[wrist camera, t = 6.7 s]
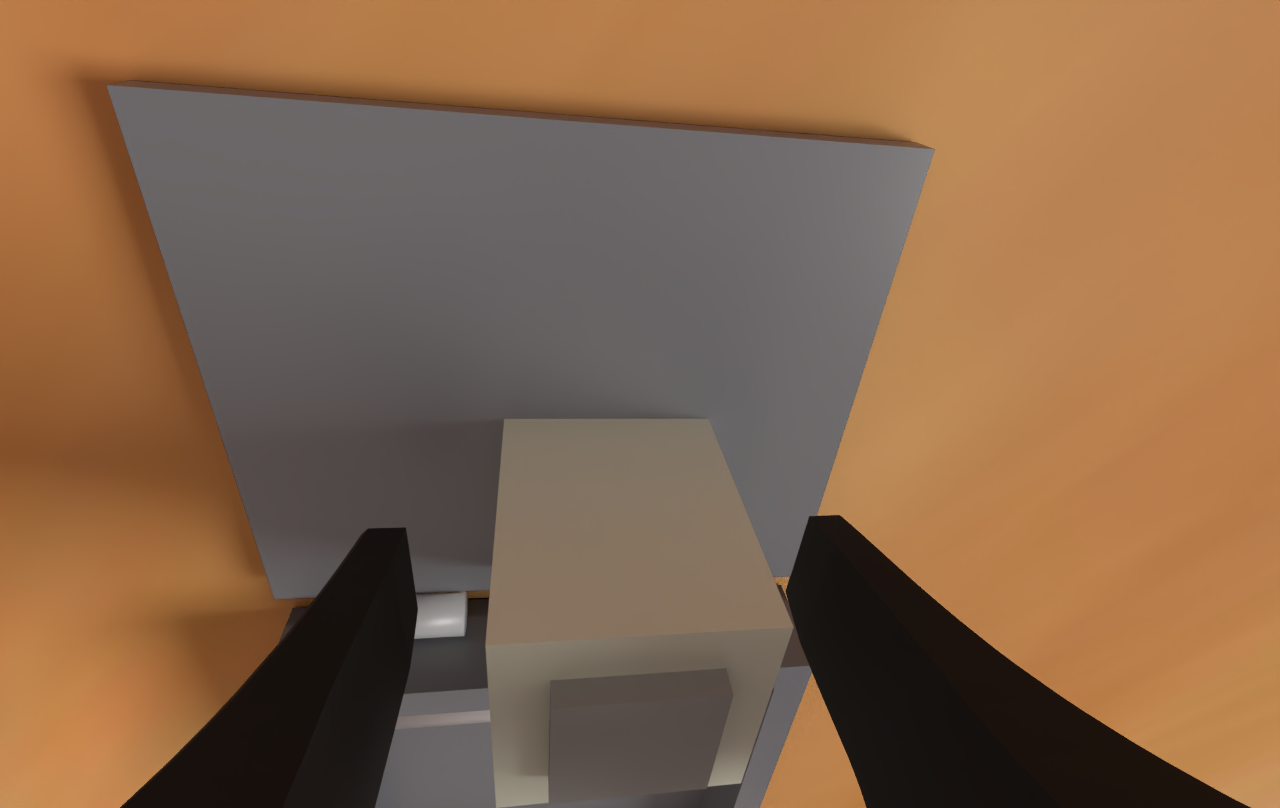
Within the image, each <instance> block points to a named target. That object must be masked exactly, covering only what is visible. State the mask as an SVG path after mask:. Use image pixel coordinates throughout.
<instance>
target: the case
mask: <svg viewBox="0 0 1280 808" xmlns="http://www.w3.org/2000/svg"><path fill="white" fill-rule="evenodd" d="M777 588H778V590H779V593H780V595H781V597H782V600H783V602H784V605H785V607H786V610H787V612H788V615H789V617H790V619H791V622H792V624H793V627H794V628H793V631H792V634H791V637H790V640H789V643H788V645H787V648H786V651H785V654H784V657H783V660H782V663H781V666H780V669H779V672H778V675H777V678H776V681H775V684H774V687H773V690H772V693H771V696H770V699H769V702H768V705H767V708H766V711H765V713H764V716H763V719H762V722H761V725H760V728H759V731H758V734H757V737H756V740H755V743H754V746H753V749H752V752H751V755H750V758H749V761H748V764H747V767H746V770H745V773H744V776H743V779H742V782H741V783H739V784H729V785H719V786H709V787H707V789H697V790H688V791H678V792H668V793H658V794H648V795H638V796H629V797H619V798H609V799H599V800H589V801H579V802H570V803H560V804H550V805H549V803H541V804H531V805H522V806H512V807H502V808H760V805H761V803H762V800H763V797H764V795H765V792H766V790H767V787H768V785H769V782H770V779H771V777H772V774H773V772H774V769H775V766H776V764H777V761H778V759H779V756H780V753H781V751H782V748H783V746H784V743H785V740H786V738H787V735H788V733H789V730H790V727H791V725H792V722H793V720H794V717H795V714H796V712H797V709H798V707H799V704H800V702H801V699H802V696H803V694H804V691H805V689H806V686H807V683H808V681H809V678H810V676H811V673H812V671H811V668H810V666H809V663H808V661H807V659H806V656H805V654H804V651H803V649H802V646H801V644H800V641H799V637H798V634H797V631H796V627H795V624H794V621H793V617H792V613H791V609H790V606H789V603H788V601H787V599H786V596H785V594H784V591H783V589H782V587H781V585H777ZM307 608H308V607H302V608H293V609H292V612H291V614H290V617H289V619H288V622H287V624H286V626H285V629H284V631H283V634H282V636H281V639H280V641H281V640H282V639H283V638H284V637H285V635H286V634H287V633H288V632H289V630H290V629H291V628H292V627H293V625H294V624H295V623H296V622H297V620H298V619H299V618H300V617H301V615H302V614H303V613H304V612H305V610H306V609H307ZM488 608H489V599H473V600H468V615H467V627H466V634H465V636H456V637H439V638H421V639H414V644H413V651H412V658H411V665H410V670H409V675H408V679H407V683H406V687H405V691H404V695H403V699H402V703H401V707H400V711H399V715H398V719H397V723H396V727H395V731H394V735H393V739H392V743H391V746H390V750H389V754H388V758H387V762H386V766H385V770H384V774H383V778H382V782H381V786H380V790H379V794H378V798H377V802H376V806H375V808H496V798H495V783H494V768H493V753H492V738H491V723H490V708H489V693H488V677H487V662H486V647H485V644H486V632H487V620H488ZM280 641H279V643H280Z"/></svg>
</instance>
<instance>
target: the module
mask: <svg viewBox="0 0 1280 808" xmlns="http://www.w3.org/2000/svg"><path fill="white" fill-rule="evenodd" d="M793 628H794V627H793V624H792V622H791V619H790V617H789V615H788V612H787V610H786V607H785V605H784V602H783V600H782V597H781V595H780V593H779V590H778V588H777V585H776V583H775V580H774V578H773V576H772V573H771V571H770V568H769V566H768V563H767V561H766V558H765V556H764V554H763V551H762V549H761V546H760V544H759V541H758V539H757V536H756V534H755V532H754V529H753V527H752V524H751V522H750V519H749V517H748V514H747V512H746V510H745V507H744V505H743V502H742V500H741V497H740V495H739V493H738V490H737V488H736V485H735V483H734V480H733V478H732V475H731V473H730V471H729V468H728V466H727V463H726V461H725V458H724V456H723V453H722V451H721V449H720V446H719V444H718V441H717V439H716V436H715V434H714V432H713V429H712V427H711V424H710V422H709V419H504V427H503V439H502V451H501V463H500V475H499V487H498V499H497V511H496V523H495V536H494V548H493V560H492V572H491V584H490V596H489V608H488V620H487V632H486V644H485V647H486V662H487V677H488V693H489V708H490V723H491V738H492V753H493V768H494V783H495V798H496V808H502V807H512V806H522V805H531V804H541V803H549V805H550V804H560V803H570V802H579V801H589V800H599V799H609V798H619V797H629V796H638V795H648V794H658V793H668V792H678V791H688V790H697V789H707V787H709V786H719V785H729V784H739V783H741V782H742V779H743V776H744V773H745V770H746V767H747V764H748V761H749V758H750V755H751V752H752V749H753V746H754V743H755V740H756V737H757V734H758V731H759V728H760V725H761V722H762V719H763V716H764V713H765V711H766V708H767V705H768V702H769V699H770V696H771V693H772V690H773V687H774V684H775V681H776V678H777V675H778V672H779V669H780V666H781V663H782V660H783V657H784V654H785V651H786V648H787V645H788V643H789V640H790V637H791V634H792V631H793Z"/></svg>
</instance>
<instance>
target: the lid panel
mask: <svg viewBox="0 0 1280 808" xmlns="http://www.w3.org/2000/svg"><path fill="white" fill-rule="evenodd" d="M106 86H107V89H108V92H109V95H110V98H111V101H112V104H113V107H114V110H115V113H116V116H117V119H118V122H119V126H120V129H121V132H122V135H123V138H124V141H125V144H126V147H127V150H128V153H129V156H130V159H131V162H132V165H133V168H134V171H135V174H136V178H137V181H138V184H139V187H140V190H141V193H142V196H143V199H144V202H145V205H146V208H147V211H148V214H149V217H150V220H151V223H152V226H153V230H154V233H155V236H156V239H157V242H158V245H159V248H160V251H161V254H162V257H163V260H164V263H165V266H166V269H167V272H168V275H169V278H170V282H171V285H172V288H173V291H174V294H175V297H176V300H177V303H178V306H179V309H180V312H181V315H182V318H183V321H184V324H185V327H186V330H187V334H188V337H189V340H190V343H191V346H192V349H193V352H194V355H195V358H196V361H197V364H198V367H199V370H200V373H201V376H202V379H203V382H204V385H205V389H206V392H207V395H208V398H209V401H210V404H211V407H212V410H213V413H214V416H215V419H216V422H217V425H218V428H219V431H220V434H221V437H222V441H223V444H224V447H225V450H226V453H227V456H228V459H229V462H230V465H231V468H232V471H233V474H234V477H235V480H236V483H237V486H238V489H239V493H240V496H241V499H242V502H243V505H244V508H245V511H246V514H247V517H248V520H249V523H250V526H251V529H252V532H253V535H254V538H255V541H256V545H257V548H258V551H259V554H260V557H261V560H262V563H263V566H264V569H265V572H266V575H267V578H268V581H269V584H270V587H271V590H272V593H273V597H274V599H296V598H316V596H317V595H318V594H319V592H320V591H321V590H322V588H323V587H324V586H325V584H326V583H327V582H328V580H329V579H330V578H331V576H332V575H333V574H334V572H335V571H336V570H337V568H338V567H339V565H340V564H341V563H342V561H343V560H344V558H345V557H346V556H347V554H348V553H349V551H350V550H351V549H352V547H353V546H354V544H355V543H356V541H357V540H358V538H359V537H360V535H361V534H362V533H363V532H364V531H365V530H367V529H368V528H402V527H406V531H407V537H408V544H409V551H410V558H411V565H412V571H413V578H414V585H415V592H416V598H417V605H418V614H417V622H416V629H415V637H414V639H421V638H439V637H456V636H465V634H466V627H467V615H468V597H467V591H475V590H490V584H491V572H492V560H493V548H494V536H495V523H496V511H497V499H498V487H499V475H500V463H501V451H502V439H503V427H504V419H709V422H710V424H711V427H712V429H713V432H714V434H715V436H716V439H717V441H718V444H719V446H720V449H721V451H722V453H723V456H724V458H725V461H726V463H727V466H728V468H729V471H730V473H731V475H732V478H733V480H734V483H735V485H736V488H737V490H738V493H739V495H740V497H741V500H742V502H743V505H744V507H745V510H746V512H747V514H748V517H749V519H750V522H751V524H752V527H753V529H754V532H755V534H756V536H757V539H758V541H759V544H760V546H761V549H762V551H763V554H764V556H765V558H766V561H767V563H768V566H769V568H770V571H771V573H772V576H773V577H789V576H791V573H792V570H793V566H794V563H795V560H796V557H797V554H798V550H799V547H800V544H801V541H802V538H803V534H804V531H805V528H806V525H807V522H808V519H809V516H817V513H818V510H819V507H820V504H821V501H822V498H823V495H824V491H825V488H826V485H827V482H828V479H829V476H830V473H831V470H832V467H833V464H834V460H835V457H836V454H837V451H838V448H839V445H840V442H841V439H842V436H843V433H844V429H845V426H846V423H847V420H848V417H849V414H850V411H851V408H852V405H853V401H854V398H855V395H856V392H857V389H858V386H859V383H860V380H861V377H862V374H863V370H864V367H865V364H866V361H867V358H868V355H869V352H870V349H871V346H872V343H873V339H874V336H875V333H876V330H877V327H878V324H879V321H880V318H881V315H882V312H883V308H884V305H885V302H886V299H887V296H888V293H889V290H890V287H891V284H892V280H893V277H894V274H895V271H896V268H897V265H898V262H899V259H900V256H901V253H902V249H903V246H904V243H905V240H906V237H907V234H908V231H909V228H910V225H911V222H912V218H913V215H914V212H915V209H916V206H917V203H918V200H919V197H920V194H921V191H922V187H923V184H924V181H925V178H926V175H927V172H928V169H929V166H930V163H931V159H932V156H933V153H934V150H935V149H933V148H930V147H927V146H924V145H922V144H919V143H916V142H903V141H891V140H878V139H866V138H853V137H840V136H828V135H815V134H802V133H790V132H777V131H764V130H752V129H739V128H726V127H714V126H701V125H688V124H676V123H663V122H651V121H638V120H625V119H613V118H600V117H587V116H575V115H562V114H549V113H537V112H524V111H511V110H499V109H486V108H473V107H461V106H448V105H436V104H423V103H410V102H398V101H385V100H372V99H360V98H347V97H334V96H322V95H309V94H296V93H284V92H271V91H258V90H246V89H233V88H221V87H208V86H195V85H183V84H170V83H157V82H145V81H132V80H131V81H126V82H120V83H115V84H109V85H106Z"/></svg>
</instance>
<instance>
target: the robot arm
mask: <svg viewBox="0 0 1280 808" xmlns="http://www.w3.org/2000/svg"><path fill="white" fill-rule="evenodd" d="M786 594H787V598H788V602H789V606H790V609H791V613H792V617H793V621H794V624H795V627H796V631H797V634H798V637H799V641H800V644H801V646H802V649H803V651H804V654H805V656H806V659H807V661H808V663H809V666H810V668H811V671H812V673H813V675H814V678H815V680H816V683H817V685H818V687H819V690H820V692H821V694H822V697H823V699H824V701H825V704H826V706H827V708H828V711H829V713H830V715H831V718H832V720H833V723H834V725H835V727H836V730H837V732H838V734H839V737H840V739H841V741H842V744H843V746H844V748H845V751H846V753H847V755H848V758H849V760H850V763H851V765H852V768H853V770H854V773H855V776H856V778H857V781H858V784H859V786H860V789H861V792H862V795H863V798H864V801H865V804H866V807H867V808H1250V807H1248V806H1246V805H1244V804H1242V803H1240V802H1238V801H1236V800H1234V799H1232V798H1231V797H1229V796H1227V795H1225V794H1223V793H1221V792H1219V791H1218V790H1216V789H1214V788H1212V787H1210V786H1209V785H1207V784H1205V783H1203V782H1201V781H1200V780H1198V779H1196V778H1194V777H1192V776H1191V775H1189V774H1187V773H1185V772H1183V771H1182V770H1180V769H1178V768H1176V767H1174V766H1173V765H1171V764H1169V763H1167V762H1166V761H1164V760H1162V759H1161V758H1159V757H1157V756H1155V755H1154V754H1152V753H1150V752H1149V751H1147V750H1145V749H1144V748H1142V747H1140V746H1138V745H1137V744H1135V743H1133V742H1132V741H1130V740H1128V739H1127V738H1125V737H1124V736H1122V735H1120V734H1119V733H1117V732H1116V731H1114V730H1113V729H1111V728H1109V727H1108V726H1106V725H1105V724H1103V723H1101V722H1100V721H1098V720H1097V719H1095V718H1093V717H1092V716H1090V715H1089V714H1087V713H1085V712H1084V711H1082V710H1081V709H1079V708H1078V707H1076V706H1075V705H1073V704H1072V703H1070V702H1069V701H1067V700H1066V699H1064V698H1063V697H1061V696H1060V695H1058V694H1057V693H1055V692H1054V691H1053V690H1051V689H1050V688H1048V687H1047V686H1045V685H1044V684H1043V683H1041V682H1040V681H1038V680H1037V679H1036V678H1034V677H1033V676H1031V675H1030V674H1029V673H1027V672H1026V671H1024V670H1023V669H1021V668H1020V667H1019V666H1017V665H1016V664H1014V663H1013V662H1012V661H1010V660H1009V659H1008V658H1006V657H1005V656H1004V655H1002V654H1001V653H1000V652H998V651H997V650H996V649H995V648H993V647H992V646H991V645H990V644H988V643H987V642H986V641H985V640H983V639H982V638H981V637H979V636H978V635H977V634H976V633H974V632H973V631H972V630H971V629H969V628H968V627H967V626H966V625H964V624H963V623H962V622H961V621H959V620H958V619H957V618H956V617H955V616H953V615H952V614H951V613H950V612H949V611H947V610H946V609H945V608H944V607H943V606H942V605H940V604H939V603H938V602H937V601H936V600H935V599H933V598H932V597H931V596H930V595H929V594H928V593H926V592H925V591H924V590H923V589H922V588H921V587H920V586H918V585H917V584H916V583H915V582H914V581H913V580H912V579H911V578H909V577H908V576H907V575H906V574H905V573H904V572H903V571H902V570H900V569H899V568H898V567H897V566H896V565H895V564H894V563H893V562H892V561H891V560H889V559H888V558H887V557H886V556H885V555H884V554H883V553H882V552H881V551H879V550H878V549H877V548H876V547H875V546H874V545H873V544H872V543H871V542H870V541H868V540H867V539H866V538H865V537H864V536H863V535H862V534H861V533H860V532H859V531H857V530H856V529H855V528H854V527H853V526H852V525H851V524H849V523H848V522H847V521H846V520H845V519H844V518H842V517H841V516H840V515H831V516H809V519H808V522H807V525H806V528H805V531H804V534H803V538H802V541H801V544H800V547H799V550H798V554H797V557H796V560H795V563H794V566H793V570H792V573H791V576H790V579H789V582H788V585H787V589H786ZM417 614H418V605H417V598H416V592H415V585H414V578H413V571H412V565H411V558H410V551H409V544H408V537H407V531H406V527H402V528H368V529H367V530H365V531H364V532H363V533H362V534H361V535H360V537H359V538H358V540H357V541H356V543H355V544H354V546H353V547H352V549H351V550H350V551H349V553H348V554H347V556H346V557H345V558H344V560H343V561H342V563H341V564H340V565H339V567H338V568H337V570H336V571H335V572H334V574H333V575H332V576H331V578H330V579H329V580H328V582H327V583H326V584H325V586H324V587H323V588H322V590H321V591H320V592H319V594H318V595H317V596H316V598H315V599H314V600H313V601H312V603H311V604H310V605H309V607H308V608H307V609H306V610H305V612H304V613H303V614H302V615H301V617H300V618H299V619H298V620H297V622H296V623H295V624H294V625H293V627H292V628H291V629H290V630H289V632H288V633H287V634H286V635H285V637H284V638H283V639H282V640H281V641H280V643H279V644H278V645H277V646H276V647H275V649H274V650H273V651H272V652H271V653H270V654H269V655H268V657H267V658H266V659H265V660H264V661H263V662H262V663H261V665H260V666H259V667H258V668H257V669H256V670H255V671H254V673H253V674H252V675H251V676H250V677H249V678H248V679H247V681H246V682H245V683H244V684H243V685H242V686H241V687H240V689H239V690H238V691H237V692H236V693H235V694H234V695H233V696H232V697H231V698H230V700H229V701H228V702H227V703H226V704H225V705H224V706H223V707H222V708H221V709H220V710H219V711H218V712H217V713H216V715H215V716H214V717H213V718H212V719H211V720H210V721H209V722H208V723H207V724H206V725H205V726H204V727H203V728H202V729H201V730H200V731H199V732H198V733H197V734H196V735H195V736H194V737H193V738H192V739H191V740H190V741H189V742H188V743H187V744H186V745H185V746H184V747H183V748H182V749H181V750H180V751H179V752H178V753H177V754H176V755H175V756H174V757H173V758H172V759H171V760H170V761H169V762H168V763H167V764H166V765H165V766H164V767H163V768H162V769H161V770H160V771H159V772H158V773H156V774H155V775H154V776H153V777H152V778H151V779H150V780H149V781H148V782H147V783H146V784H145V785H144V786H143V787H142V788H140V789H139V790H138V791H137V792H136V793H135V794H134V795H133V796H132V797H131V798H130V799H129V800H128V801H127V802H126V803H125V804H123V805H122V806H121V807H120V808H375V806H376V802H377V798H378V794H379V790H380V786H381V782H382V778H383V774H384V770H385V766H386V762H387V758H388V754H389V750H390V746H391V743H392V739H393V735H394V731H395V727H396V723H397V719H398V715H399V711H400V707H401V703H402V699H403V695H404V691H405V687H406V683H407V679H408V675H409V670H410V665H411V658H412V651H413V644H414V637H415V629H416V622H417Z"/></svg>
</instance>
